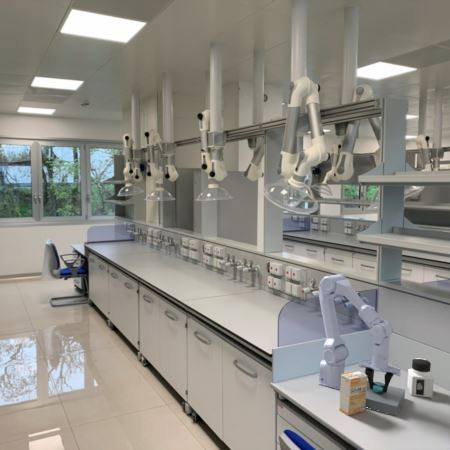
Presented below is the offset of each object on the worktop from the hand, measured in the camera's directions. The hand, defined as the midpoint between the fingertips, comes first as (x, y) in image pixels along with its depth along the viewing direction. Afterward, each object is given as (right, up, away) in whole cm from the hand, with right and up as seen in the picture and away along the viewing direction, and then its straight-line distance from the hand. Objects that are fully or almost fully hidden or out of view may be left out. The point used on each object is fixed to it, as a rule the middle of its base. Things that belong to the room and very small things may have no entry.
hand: (378, 390), depth 163 cm
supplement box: (-12, -5, -8) cm, 15 cm away
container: (+19, -4, +9) cm, 21 cm away
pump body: (0, -4, 0) cm, 4 cm away
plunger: (0, -4, 0) cm, 4 cm away
